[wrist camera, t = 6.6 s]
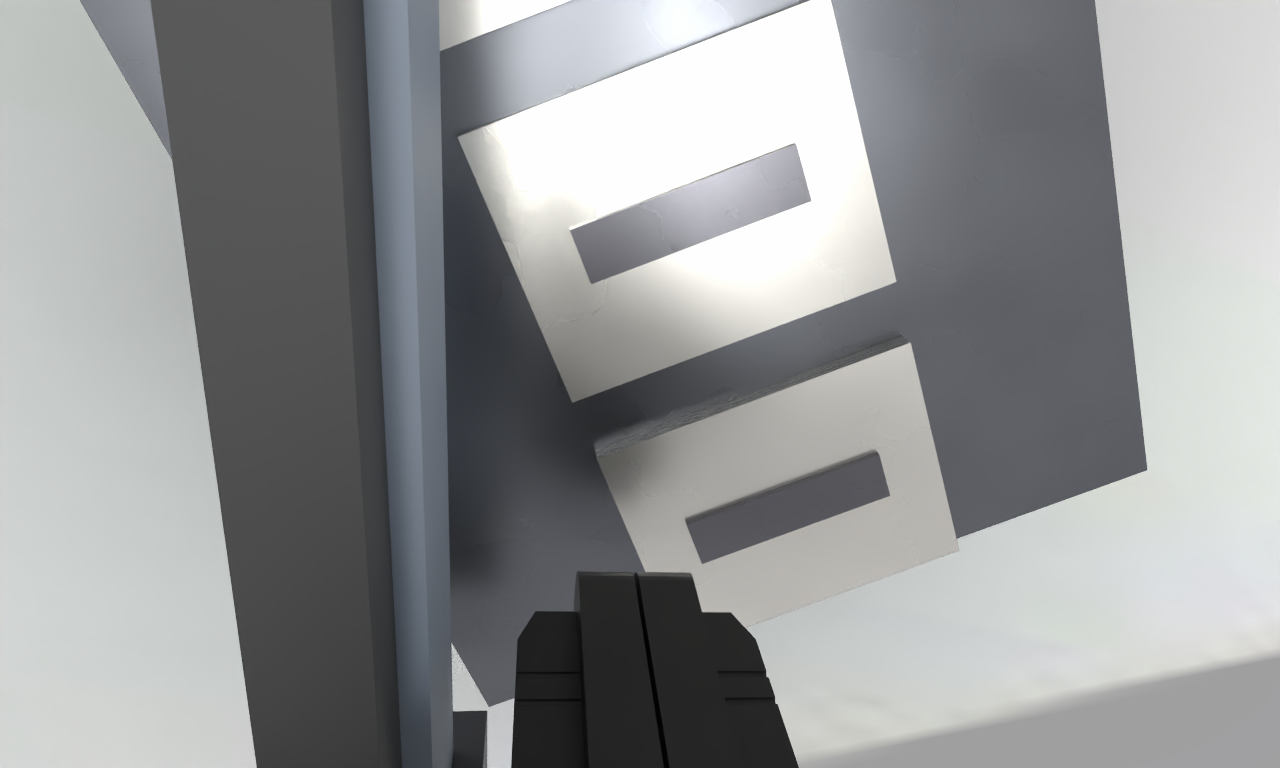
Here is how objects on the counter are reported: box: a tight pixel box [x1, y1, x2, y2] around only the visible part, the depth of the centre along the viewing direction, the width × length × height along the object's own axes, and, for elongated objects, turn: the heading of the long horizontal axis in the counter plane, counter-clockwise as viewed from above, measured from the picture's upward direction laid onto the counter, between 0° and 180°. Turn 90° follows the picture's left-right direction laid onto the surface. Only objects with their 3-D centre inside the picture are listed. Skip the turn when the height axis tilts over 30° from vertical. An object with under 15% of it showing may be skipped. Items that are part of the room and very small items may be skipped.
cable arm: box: [150, 0, 487, 768], centre depth 8 cm, size 2×15×4 cm, turn 176°
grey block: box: [80, 0, 1147, 707], centre depth 10 cm, size 12×18×10 cm
